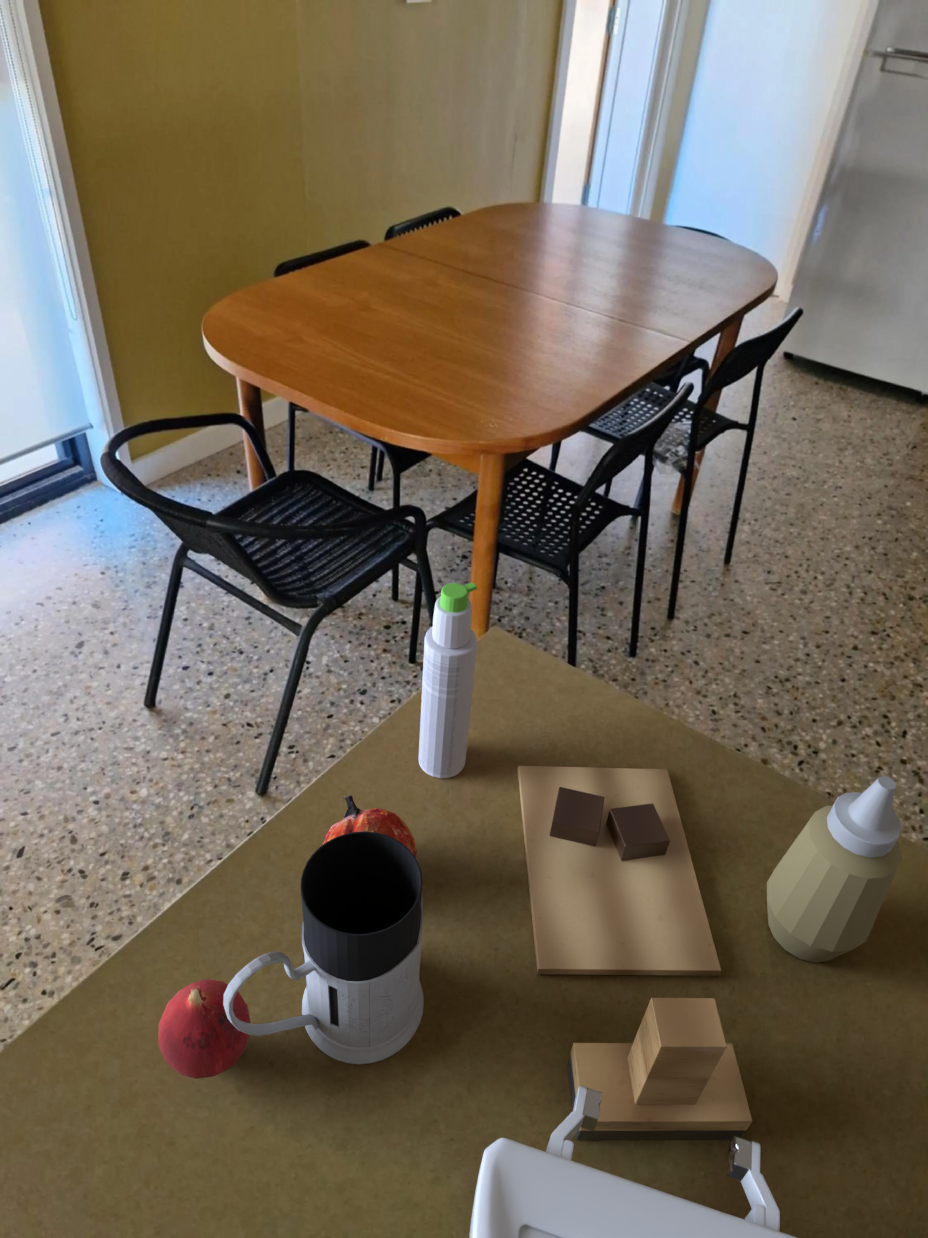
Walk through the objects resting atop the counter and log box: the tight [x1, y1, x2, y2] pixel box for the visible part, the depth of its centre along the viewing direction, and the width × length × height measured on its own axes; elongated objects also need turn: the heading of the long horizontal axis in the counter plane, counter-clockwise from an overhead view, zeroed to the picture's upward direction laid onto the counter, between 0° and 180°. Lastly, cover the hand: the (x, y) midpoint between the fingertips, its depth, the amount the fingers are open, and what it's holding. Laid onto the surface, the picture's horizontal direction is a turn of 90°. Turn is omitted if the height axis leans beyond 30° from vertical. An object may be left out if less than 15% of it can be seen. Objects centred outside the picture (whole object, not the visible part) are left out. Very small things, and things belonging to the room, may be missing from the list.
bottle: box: [418, 581, 478, 779], centre depth 76 cm, size 4×4×20 cm
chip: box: [550, 787, 604, 847], centre depth 76 cm, size 4×4×2 cm
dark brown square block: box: [606, 803, 670, 861], centre depth 76 cm, size 4×4×2 cm
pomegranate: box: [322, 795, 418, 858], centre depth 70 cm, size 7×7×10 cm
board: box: [517, 765, 722, 977], centre depth 75 cm, size 14×20×1 cm
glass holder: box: [223, 831, 425, 1065], centre depth 58 cm, size 9×14×15 cm, turn 131°
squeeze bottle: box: [766, 775, 903, 963], centre depth 66 cm, size 8×8×18 cm
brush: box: [566, 997, 753, 1141], centre depth 57 cm, size 11×5×11 cm, turn 92°
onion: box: [157, 978, 252, 1080], centre depth 58 cm, size 6×6×8 cm
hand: (665, 1117), depth 54 cm, fingers open, 8 cm apart
